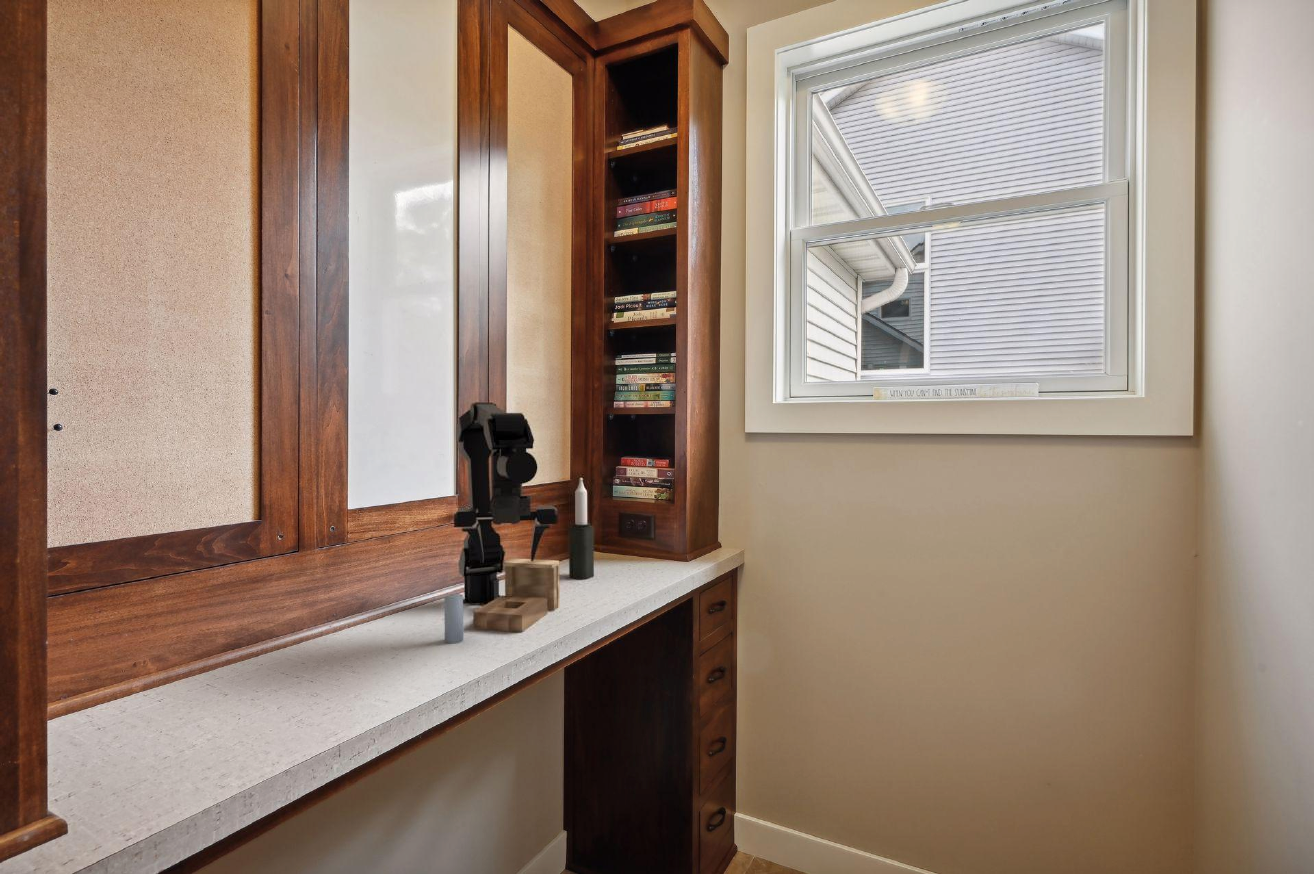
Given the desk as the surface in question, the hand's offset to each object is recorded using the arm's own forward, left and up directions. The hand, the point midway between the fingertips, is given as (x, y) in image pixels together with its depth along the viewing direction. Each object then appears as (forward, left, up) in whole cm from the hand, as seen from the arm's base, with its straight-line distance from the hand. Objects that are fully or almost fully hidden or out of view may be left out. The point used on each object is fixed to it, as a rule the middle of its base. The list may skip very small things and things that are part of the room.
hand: (507, 561), depth 126 cm
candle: (-1, +43, -13) cm, 45 cm away
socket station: (-2, +8, -13) cm, 15 cm away
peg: (-7, -8, -13) cm, 17 cm away
